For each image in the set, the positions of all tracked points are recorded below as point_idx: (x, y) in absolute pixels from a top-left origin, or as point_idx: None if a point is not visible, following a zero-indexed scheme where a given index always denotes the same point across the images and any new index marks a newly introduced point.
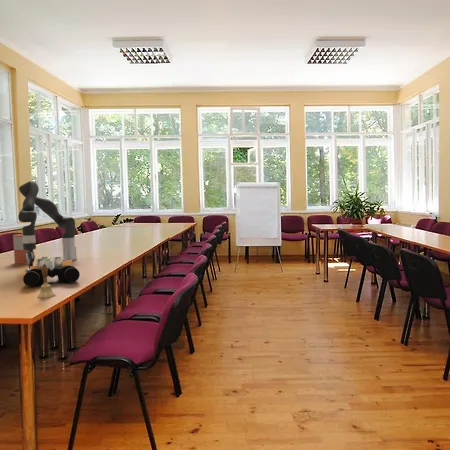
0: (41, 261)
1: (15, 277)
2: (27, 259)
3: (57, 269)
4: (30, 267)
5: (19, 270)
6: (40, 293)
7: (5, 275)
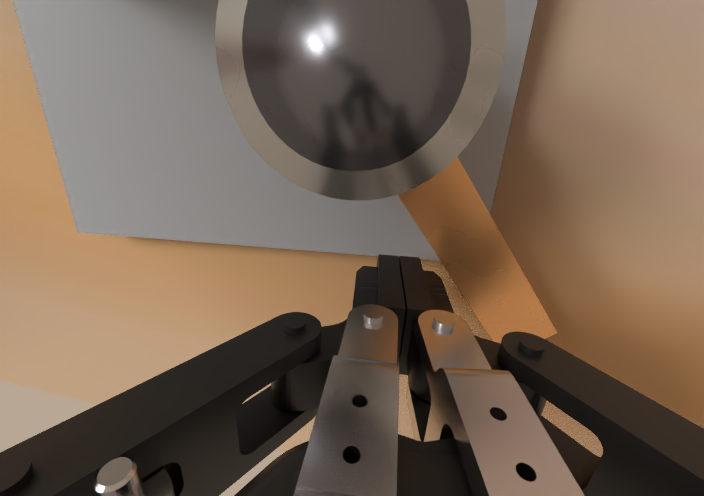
0: (488, 81)
1: None
2: (290, 431)
3: None
4: None
5: (32, 266)
6: None
7: None
